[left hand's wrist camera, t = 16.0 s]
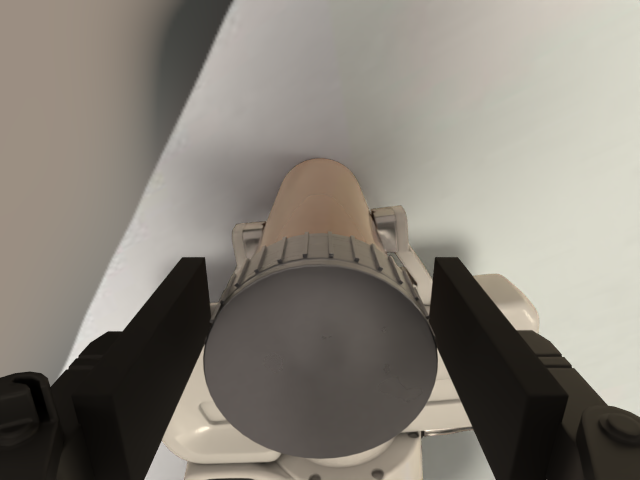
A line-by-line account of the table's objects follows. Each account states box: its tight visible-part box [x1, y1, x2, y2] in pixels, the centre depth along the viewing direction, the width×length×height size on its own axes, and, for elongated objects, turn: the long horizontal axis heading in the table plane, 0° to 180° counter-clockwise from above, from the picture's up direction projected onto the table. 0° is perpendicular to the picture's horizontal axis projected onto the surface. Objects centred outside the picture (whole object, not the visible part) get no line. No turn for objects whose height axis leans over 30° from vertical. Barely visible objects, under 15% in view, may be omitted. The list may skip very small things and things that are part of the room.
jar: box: [253, 158, 387, 256], centre depth 18 cm, size 5×5×16 cm
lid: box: [203, 231, 438, 459], centre depth 11 cm, size 6×6×2 cm
